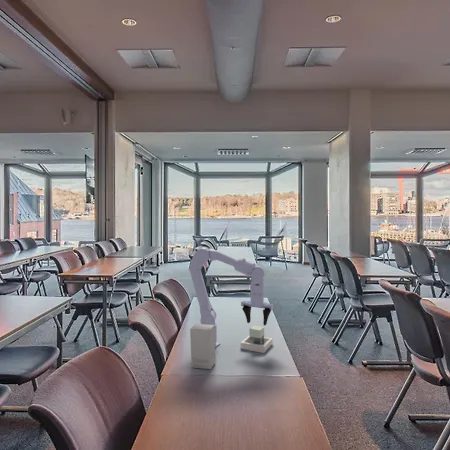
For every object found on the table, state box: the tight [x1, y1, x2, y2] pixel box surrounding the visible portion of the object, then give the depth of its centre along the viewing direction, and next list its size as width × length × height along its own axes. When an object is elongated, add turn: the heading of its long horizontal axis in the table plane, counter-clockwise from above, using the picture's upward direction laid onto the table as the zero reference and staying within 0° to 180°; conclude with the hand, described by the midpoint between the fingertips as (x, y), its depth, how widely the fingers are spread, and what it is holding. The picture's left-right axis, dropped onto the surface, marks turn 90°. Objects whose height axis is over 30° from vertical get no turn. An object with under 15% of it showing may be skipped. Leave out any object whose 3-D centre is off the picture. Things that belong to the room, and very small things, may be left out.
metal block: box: [250, 334, 265, 345], centre depth 167 cm, size 5×5×4 cm
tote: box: [240, 335, 273, 354], centre depth 167 cm, size 11×11×3 cm
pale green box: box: [248, 325, 265, 338], centre depth 167 cm, size 5×5×4 cm
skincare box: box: [189, 323, 216, 370], centre depth 147 cm, size 8×7×16 cm
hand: (256, 323), depth 167 cm, fingers open, 7 cm apart
